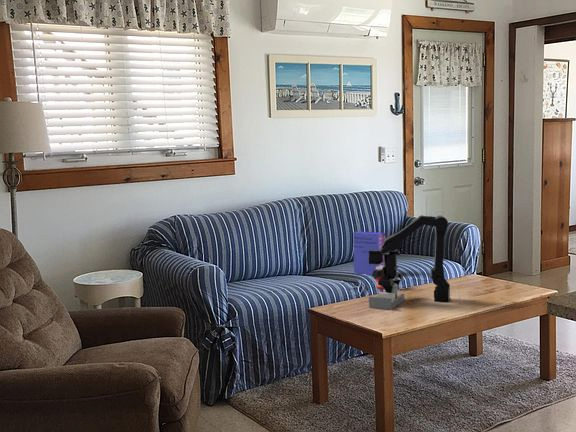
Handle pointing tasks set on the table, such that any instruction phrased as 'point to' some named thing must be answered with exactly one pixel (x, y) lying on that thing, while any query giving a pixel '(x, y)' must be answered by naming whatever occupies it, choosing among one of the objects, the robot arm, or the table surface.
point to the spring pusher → (387, 295)
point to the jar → (394, 290)
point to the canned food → (379, 278)
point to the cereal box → (366, 250)
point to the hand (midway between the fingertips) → (391, 296)
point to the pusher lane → (385, 302)
